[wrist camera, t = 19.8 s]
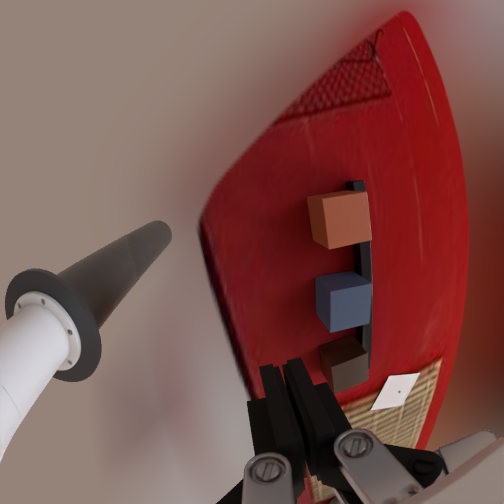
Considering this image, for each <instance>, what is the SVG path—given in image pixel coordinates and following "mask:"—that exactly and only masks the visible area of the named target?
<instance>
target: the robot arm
mask: <svg viewBox="0 0 504 504" xmlns="http://www.w3.org/2000/svg"><path fill="white" fill-rule="evenodd" d="M80 353H81V341H80V337H79V334H78V331H77V328H76V326H75V324H74V322H73V321H72V319H71V317H70V316H69V314H68V313H67V312H66V310H65V309H64V308H63V307H62V306H61V305H60V304H59V303H58V302H57V301H56V300H55V299H53V298H52V297H50V296H49V295H47V294H44V293H42V292H38V291H30V292H27V293H25V294H24V295H22V296H21V297H20V298H19V299H18V300H17V302H16V304H15V308H14V315H13V316H12V317H11V318H10V319H8V320H7V321H6V322H5V323H3V324H2V325H1V326H0V463H1V459H2V457H3V454H4V452H5V450H6V448H7V446H8V444H9V442H10V440H11V438H12V436H13V435H14V433H15V432H16V430H17V428H18V427H19V425H20V423H21V422H22V420H23V419H24V417H25V416H26V414H27V413H28V411H29V410H30V408H31V407H32V405H33V403H34V402H35V401H36V399H37V398H38V396H39V395H40V393H41V392H42V391H43V389H44V388H45V386H46V385H47V383H48V382H49V381H50V379H51V378H52V377H53V375H54V374H55V372H56V371H57V370H61V371H62V370H68V369H70V368H72V367H73V366H74V365H75V364H76V362H77V361H78V359H79V357H80ZM282 366H283V373H284V379H285V384H284V381H283V378H282V375H281V372H280V369H279V366H277V367H273V364H270V365H265V366H261V367H259V369H260V374H261V378H262V383H263V387H264V392H265V396H266V398H262V399H257V400H252V401H247V407H248V413H249V421H250V427H251V433H252V439H253V446H254V451H255V456H254V457H253V458H252V459H250V460H249V461H248V463H247V464H246V466H245V469H244V478H243V479H242V480H241V481H240V482H239V483H238V484H237V485H236V486H235V487H234V488H233V489H232V490H231V491H230V492H228V493H227V494H226V495H225V496H224V497H223V498H222V499H221V500H220V501H218V502H217V503H216V504H298V503H297V498H298V497H299V496H300V495H301V493H302V492H303V491H304V490H305V484H304V478H306V477H307V474H306V463H307V466H308V469H309V472H310V475H311V476H314V475H316V476H317V479H318V481H320V480H321V481H322V484H324V485H327V486H330V487H331V488H332V490H333V492H334V493H335V495H336V497H337V498H338V500H339V501H340V503H341V504H504V437H502V438H500V439H498V440H497V439H496V437H495V435H494V434H493V433H492V432H491V431H489V430H483V429H482V430H479V431H476V432H474V433H472V434H470V435H468V436H466V437H463V438H461V439H459V440H457V441H454V442H452V443H449V444H447V445H444V446H442V447H439V449H438V450H436V451H434V452H431V451H426V450H418V449H412V448H405V447H399V446H394V445H388V444H383V443H382V442H381V441H380V440H379V439H378V438H377V437H376V435H375V434H373V433H372V432H371V431H369V430H366V429H361V428H355V429H352V427H351V425H350V423H349V422H348V420H347V418H346V416H345V414H344V412H343V410H342V409H341V407H340V405H339V403H338V401H337V399H336V398H335V396H334V394H333V392H332V390H331V388H330V387H329V385H328V383H326V382H325V383H321V384H318V385H315V386H314V384H313V382H312V380H311V378H310V376H309V374H308V372H307V370H306V368H305V366H304V363H303V361H302V359H301V358H300V357H299V358H295V359H291V360H287V364H285V365H282ZM285 386H286V387H285ZM305 460H306V463H305Z"/></svg>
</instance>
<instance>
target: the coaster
mask: <svg viewBox="0 0 504 504" xmlns="http://www.w3.org/2000/svg"><path fill="white" fill-rule="evenodd" d="M419 374H420V373H416V374H407V375H396V376H389V377H388V379H387V381H386V383H385V385H384V387H383V389H382V391H381V392H380V394H379V396H378V398H377V400H376V401H375V403H374V405H373V406H372V408H371V410H376V409H383V408H389V407H395V406H401V405H402V404H403V402H404V401H405V399H406V397H407V396H408V394H409V392H410V390H411V389H412V387H413V385H414V383H415V382H416V380H417V378H418V376H419Z"/></svg>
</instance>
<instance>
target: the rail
mask: <svg viewBox="0 0 504 504" xmlns="http://www.w3.org/2000/svg"><path fill="white" fill-rule="evenodd" d="M346 189H347V191H363V192H366V191H365V183H364V180H358V181H348V182H346ZM353 254H354V268H355V273H357V274H358V275H360V276H361V277H363V278H364V279H366V280H367V281H369V282H370V283H371V284H372V260H371V242H370V240H369V241H365V242H360V243H356V244H353ZM372 306H373V298H372V286H371V306H370V320H369V324H365V325H361V326H357V327H356V340H357V341H358V342H359V343H360V344H361V346H362V347H363V348H364V349H365V350H366V352H367V353H368V369H370V360H371V343H372Z"/></svg>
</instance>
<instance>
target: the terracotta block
mask: <svg viewBox="0 0 504 504" xmlns="http://www.w3.org/2000/svg"><path fill="white" fill-rule="evenodd" d="M307 204H308V210H309V216H310V223H311V230H312V237H313V240H314V241H315V242H317V243H319V244H321V245H322V246H324V247H326V248H327V249H334V248H338V247H343V246H347V245H351V244H356V243H360V242H365V241H369V240H372V236H371V225H370V215H369V206H368V197H367V192H363V191H339V192H333V193H326V194H320V195H314V196H308V197H307Z"/></svg>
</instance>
